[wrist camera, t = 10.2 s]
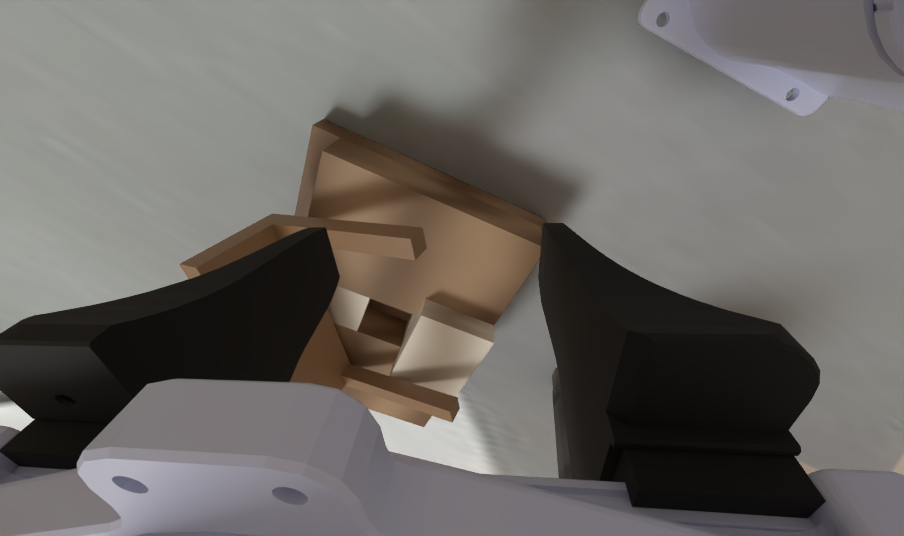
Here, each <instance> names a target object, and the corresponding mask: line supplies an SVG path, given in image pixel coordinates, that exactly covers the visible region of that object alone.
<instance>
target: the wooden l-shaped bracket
mask: <svg viewBox="0 0 904 536" xmlns="http://www.w3.org/2000/svg"><path fill="white" fill-rule="evenodd" d="M309 227H326V230H327V233H328V237H329V240H330V244H331V247H332V249H337V250H344V251H351V252H359V253H366V254H373V255H380V256H388V257H395V258H402V259H409V260H416V259H417V258H418V257H419V256H420V255H421V254H422V253H423V252H424V251H425V250H426V249H427V246H426V241H425V236H424V231H423V227H412V226H401V225H390V224H379V223H368V222H357V221H346V220H335V219H324V218H313V217H302V216H291V215H280V214H271V215H269V216H267V217H265V218H263V219H262V220H260V221H258V222H256V223H254V224H252V225H251V226H249V227H247V228H245V229H243V230H241V231H240V232H238V233H236V234H234V235H232V236H230V237H229V238H227V239H225V240H223V241H221V242H219V243H217V244H216V245H214V246H212V247H210V248H208V249H206V250H205V251H203V252H201V253H199V254H197V255H195V256H194V257H192V258H190V259H188V260H186V261H184V262H183V263H181V264H180V266H181V268H182V269H183V271H184V272H185V274H186V275H187V277H188V278H189V279H191V278H194V277H197V276H199V275H202V274H205V273H208V272H210V271H213V270H215V269H218V268H220V267H223V266H225V265H227V264H229V263H232V262H234V261H236V260H238V259H240V258H243V257H245V256H247V255H249V254H251V253H253V252H256V251H258V250H260V249H262V248H264V247H266V246H268V245H270V244H272V243H274V242H276V241H278V240H280V239H282V238H284V237H286V236H288V235H291V234H293V233H295V232H297V231H300V230H303V229H306V228H309ZM290 382H300V383H312V384H317V385H322V386H327V387H332V388H337V389H339V390H342V389H343V388H344V386H345V385H346V386H349V387H351V388H354V389H357V390H360V391H363V392H366V393H369V394H372V395H374V396H377V397H380V398H383V399H386V400H389V401H392V402H395V403H398V404H400V405H403V406H406V407H409V408H412V409H415V410H418V411H421V412H424V413H426V414H429V415H432V416H435V417H438V418H441V419H444V420H447V421H450V422H453V420H454V418H455V416H456V414H457V412H458V410H459V403H458V398H457V397H455V396H451V395H448V394H445V393H442V392H439V391H435V390H432V389H429V388H426V387H422V386H419V385H416V384H413V383H410V382H406V381H403V380H400V379H397V378H394V377H390V376H387V375H384V374H381V373H377V372H374V371H371V370H368V369H365V368H361V367H358V366H355V365H352V364H350V362H349V360H348V357H347V355H346V352H345V350H344V348H343V345H342V343H341V340H340V338H339V336H338V333H337V331H336V328H335V326H334V324H333V321H332V319H331V317H330V314H329V312H328V309H327V310H326V312H325V314H324V316H323V317H322V319H321V321H320V323H319V325H318V326H317V328H316V330H315V332H314V333H313V335H312V337H311V339H310V341H309V342H308V344H307V346H306V348H305V349H304V351H303V353H302V355H301V357H300V359H299V361H298V363H297V366H296V368H295V371H294V373H293V375H292V378H291V380H290Z"/></svg>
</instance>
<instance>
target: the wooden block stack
mask: <svg viewBox="0 0 904 536" xmlns="http://www.w3.org/2000/svg"><path fill="white" fill-rule="evenodd" d="M295 216H302V217H313V218H324V219H335V220H346V221H357V222H368V223H379V224H390V225H401V226H412V227H423V231H424V236H425V241H426V246H427V249H426V250H425V251H424V252H423V253H422V254H421V255H420V256H419V257H418V258H417V259H416V260H409V259H402V258H395V257H388V256H380V255H373V254H366V253H359V252H351V251H344V250H337V249H332V251H333V254H334V258H335V261H336V265H337V268H338V272H339V275H340V279H339V282H338V285H337V288H336V291H335V293H334V296H333V298H332V301H331V303H330V305H329V306H328V308H327V309H328V312H329V314H330V317H331V319H332V321H333V324H334V326H335V328H336V331H337V333H338V336H339V338H340V340H341V343H342V345H343V348H344V350H345V352H346V355H347V357H348V360H349V362H350V364H352V365H355V366H358V367H361V368H365V369H368V370H371V371H374V372H377V373H381V374H384V375H387V376H390V377H394V378H397V379H400V380H403V381H406V382H410V383H413V384H416V385H419V386H422V387H426V388H429V389H432V390H435V391H439V392H442V393H445V394H448V395H451V396H455V397H456V396H457V394H458V393H459V392H460V390H461V389H462V387H463V386H464V385H465V383H466V382H467V380H468V379H469V378H470V376H471V375H472V373H473V372H474V371H475V369H476V368H477V366H478V365H479V364H480V362H481V361H482V359H483V358H484V357H485V355H486V354H487V353H488V351H489V350H490V348H491V347H492V346H493V344H494V324H495V323H496V321H497V320H498V319H499V317H500V316H501V314H502V313H503V311H504V310H505V308H506V307H507V305H508V304H509V303H510V301H511V300H512V298H513V297H514V295H515V294H516V292H517V291H518V289H519V288H520V287H521V285H522V284H523V282H524V281H525V279H526V278H527V276H528V275H529V273H530V272H531V271H532V269H533V268H534V266H535V265H536V263H537V262H538V260H539V259H540V251H541V238H542V226H543V223H546V221H545V219H544V218H542V217H540V216H538V215H535V214H533V213H531V212H529V211H526V210H524V209H522V208H520V207H518V206H515V205H513V204H511V203H509V202H506V201H504V200H502V199H500V198H498V197H495V196H493V195H491V194H489V193H486V192H484V191H482V190H480V189H477V188H475V187H473V186H471V185H469V184H466V183H464V182H462V181H460V180H457V179H455V178H453V177H451V176H449V175H446V174H444V173H442V172H440V171H437V170H435V169H433V168H431V167H429V166H426V165H424V164H422V163H420V162H417V161H415V160H413V159H411V158H409V157H406V156H404V155H402V154H400V153H397V152H395V151H393V150H391V149H389V148H386V147H384V146H382V145H380V144H377V143H375V142H373V141H371V140H369V139H366V138H364V137H362V136H360V135H357V134H355V133H353V132H351V131H349V130H346V129H344V128H342V127H340V126H337V125H335V124H333V123H331V122H329V121H326V120H324V119H323V120H321V121H319V122H318V123H316V124H314V125H313V126H312V131H311V136H310V141H309V146H308V151H307V156H306V161H305V166H304V171H303V176H302V181H301V186H300V191H299V197H298V202H297V207H296V212H295ZM341 391H343V392H345V393H346V394H348V395H350V396H352V397H353V398H355V399H357V400H359V401H360V402H362V403H363V404H364V405H365V406H366V408H367V409H371V410H374V411H377V412H380V413H383V414H386V415H389V416H392V417H395V418H398V419H401V420H404V421H407V422H410V423H413V424H416V425H419V426H422V427H424V426H425V425H426V423H427V422H428V420H429V419H430V418H431V416H432V415H429V414H426V413H424V412H421V411H418V410H415V409H412V408H409V407H406V406H403V405H400V404H398V403H395V402H392V401H389V400H386V399H383V398H380V397H377V396H374V395H372V394H369V393H366V392H363V391H360V390H357V389H354V388H351V387H349V386H346V385H345V386H344V388H343V389H342V390H341Z"/></svg>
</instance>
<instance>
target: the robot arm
mask: <svg viewBox="0 0 904 536" xmlns="http://www.w3.org/2000/svg"><path fill="white" fill-rule="evenodd" d="M661 13H665V15H666V21H665V23H664V24H663V25H662V26H660V27H658V25H657V23H656V20H657V17H658V16H659V15H660V14H661ZM638 23H639V25H640V26H641V27H643V28H644V29H646V30H648V31H650V32H651V33H653V34H655V35H657V36H658V37H660V38H662V39H664V40H665V41H667V42H669V43H671V44H672V45H674V46H676V47H678V48H680V49H681V50H683V51H685V52H687V53H688V54H690V55H692V56H694V57H695V58H697V59H699V60H701V61H702V62H704V63H706V64H708V65H709V66H711V67H713V68H715V69H716V70H718V71H720V72H722V73H723V74H725V75H727V76H729V77H730V78H732V79H734V80H736V81H737V82H739V83H741V84H743V85H744V86H746V87H748V88H750V89H751V90H753V91H755V92H757V93H758V94H760V95H762V96H764V97H765V98H767V99H769V100H771V101H772V102H774V103H776V104H778V105H779V106H781V107H783V108H785V109H786V110H788V111H790V112H792V113H793V114H796V115H800V116H807V115H810V114H812V113H813V112H815V111H816V110H817V109H818V108H819V107H820V106H821V105H822V104H823V103H824V102H825V101H826V100H827V98H828V97H829V96H831V97H836V98H841V99H846V100H851V101H856V102H861V103H867V104H872V105H877V106H882V107H887V108H892V109H898V110H903V111H904V0H645V1H644V3H643V5H642V6H641V8H640V10H639V13H638ZM791 89H793V94H792V95H791V96H790V97H789V98H788V99H786V94H787V93H788V91H790V90H791ZM538 277H539V287H540V295H541V303H542V307H543V311H544V315H545V318H546V322H547V326H548V330H549V334H550V338H551V341H552V345H553V349H554V353H555V357H556V361H557V366H558V372H559V379H560V386H561V393H562V400H563V408H564V416H565V423H566V431H567V440H568V449H569V457H570V466H571V476H572V479H558V478H541V477H524V476H507V475H490V474H479V473H475V472H471V471H467V470H463V469H459V468H455V467H451V466H447V465H443V464H439V463H434V462H430V461H426V460H422V459H418V458H414V457H410V456H406V455H402V454H398V453H394V452H389V451H388V449H387V448H386V445H385V442H384V438H383V435H382V431H381V428H380V426H379V424H378V423H377V421H376V420H375V419H374V417H373V416H372V414H371V413H370V412H369V410H368V409H367V408H366V406H365V405H364V404H363V403H362V402H360V401H359V400H357V399H355V398H353V397H352V396H350V395H348V394H346V393H345V392H343V391H341V390H339V389H337V388H332V387H327V386H322V385H317V384H312V383H300V382H290V380H291V378H292V375H293V373H294V371H295V368H296V366H297V363H298V361H299V359H300V357H301V355H302V353H303V351H304V349H305V348H306V346H307V344H308V342H309V341H310V339H311V337H312V335H313V333H314V332H315V330H316V328H317V326H318V325H319V323H320V321H321V319H322V317H323V316H324V314H325V312H326V310H327V308H328V306H329V305H330V303H331V301H332V298H333V296H334V293H335V291H336V288H337V285H338V282H339V279H340V275H339V272H338V268H337V265H336V261H335V258H334V254H333V251H332V247H331V244H330V240H329V237H328V233H327V230H326V227H309V228H306V229H303V230H300V231H297V232H295V233H293V234H291V235H288V236H286V237H284V238H282V239H280V240H278V241H276V242H274V243H272V244H270V245H268V246H266V247H264V248H262V249H260V250H258V251H256V252H253V253H251V254H249V255H247V256H245V257H243V258H240V259H238V260H236V261H234V262H232V263H229V264H227V265H225V266H223V267H220V268H218V269H215V270H213V271H210V272H208V273H205V274H202V275H199V276H197V277H194V278H191V279H188V280H185V281H182V282H179V283H176V284H173V285H169V286H166V287H163V288H159V289H156V290H153V291H150V292H146V293H142V294H138V295H134V296H130V297H126V298H122V299H118V300H114V301H109V302H105V303H100V304H96V305H91V306H85V307H80V308H74V309H69V310H64V311H58V312H53V313H47V314H41V315H35V316H32V317H29V318H26V319H23V320H21V321H20V322H18V323H16V324H15V325H13V326H12V327H10V328H8V329H7V330H5V331H4V332H2V333H0V390H1V391H2V392H3V393H4V394H5V395H6V396H8V397H9V398H10V399H11V400H12V401H13V402H15V403H16V404H17V405H18V406H19V407H20V408H21V409H23V410H24V411H25V412H26V413H27V414H28V415H30V416H31V417H32V418H33V419H35V420H34V421H32V422H31V423H30V424H29V425H28V426H27V427H25V428H24V429H23V430H22V431H21V432H20V431H19V430H16V429H14V428H11V427H6V426H0V536H904V476H903V475H902V474H898V473H895V472H884V471H864V470H845V469H825V470H819V471H816V472H813V473H810V474H809V475H807V474H806V472H805V471H804V469H803V468H802V466H801V465H800V464H799V462H798V461H797V459H796V458H795V457H794V456H798V455H799V454H800V453H801V447H800V445H799V444H798V442H797V441H796V440H795V438H794V437H793V436H792V434H791V433H790V431H789V429H790V427H791V426H792V425H793V423H794V422H795V421H796V419H797V418H798V417H799V415H800V414H801V413H802V411H803V410H804V409H805V407H806V406H807V405H808V404H809V402H810V401H811V399H812V398H813V396H814V394H815V392H816V390H817V388H818V386H819V384H820V369H819V367H818V365H817V363H816V362H815V360H814V358H813V357H812V356H811V355H810V354H809V353H808V352H807V351H806V350H805V349H804V348H803V347H802V346H801V345H800V344H799V343H798V342H797V341H796V340H795V339H794V338H793V337H792V336H791V334H790V333H789V332H788V331H787V330H786V329H785V328H784V327H783V326H782V325H781V324H778V323H774V322H770V321H766V320H763V319H759V318H755V317H751V316H747V315H743V314H739V313H735V312H731V311H728V310H724V309H721V308H718V307H715V306H712V305H709V304H706V303H703V302H700V301H697V300H694V299H691V298H688V297H686V296H683V295H680V294H678V293H675V292H673V291H671V290H668V289H666V288H664V287H661V286H659V285H657V284H654V283H652V282H650V281H648V280H646V279H644V278H642V277H640V276H638V275H637V274H635V273H633V272H631V271H629V270H627V269H625V268H624V267H622V266H620V265H619V264H617V263H616V262H614V261H613V260H611V259H610V258H608V257H606V256H605V255H604V254H602V253H601V252H599V251H598V250H597V249H595V248H594V247H593V246H591V245H590V244H589V243H587V242H586V241H585V240H584V239H582V238H581V237H580V236H579V235H577V234H576V233H575V232H574V231H572V230H571V229H570V228H569V227H567V226H566V225H565V224H563V223H543V226H542V238H541V251H540V263H539V276H538Z"/></svg>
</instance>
